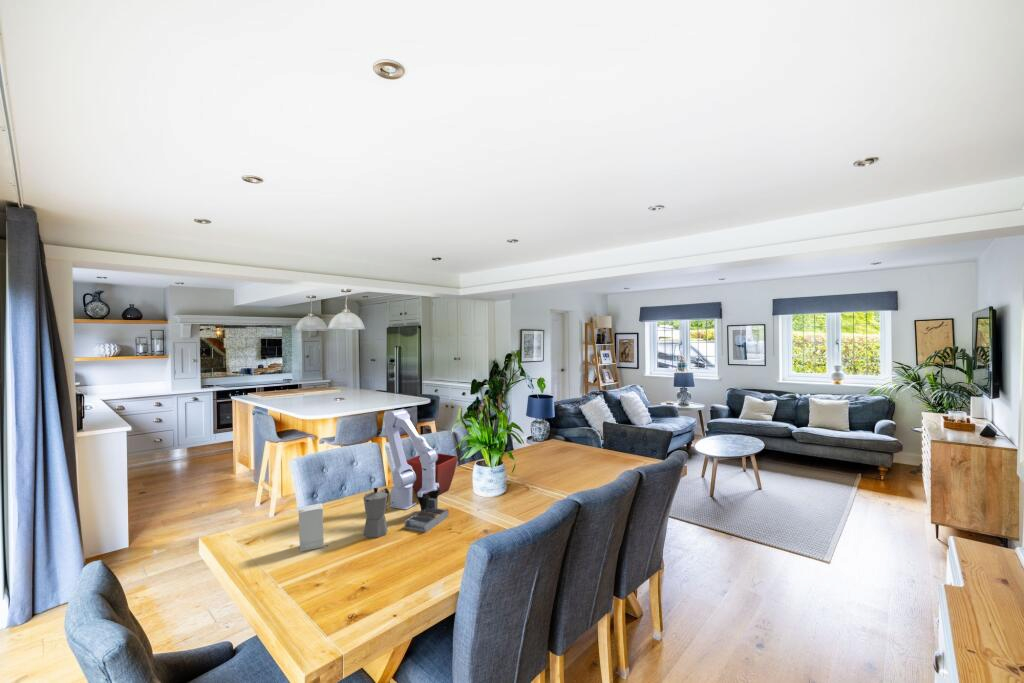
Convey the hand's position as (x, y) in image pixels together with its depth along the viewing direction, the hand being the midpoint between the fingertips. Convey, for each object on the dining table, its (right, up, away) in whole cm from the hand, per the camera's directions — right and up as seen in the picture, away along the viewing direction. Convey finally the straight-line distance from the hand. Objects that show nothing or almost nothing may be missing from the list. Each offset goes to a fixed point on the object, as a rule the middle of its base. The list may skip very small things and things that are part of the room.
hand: (428, 508), depth 205 cm
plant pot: (-3, -2, +27) cm, 28 cm away
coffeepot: (-17, -2, -21) cm, 27 cm away
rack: (+2, -2, -11) cm, 12 cm away
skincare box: (-37, -2, -34) cm, 51 cm away
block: (0, -2, 0) cm, 2 cm away
